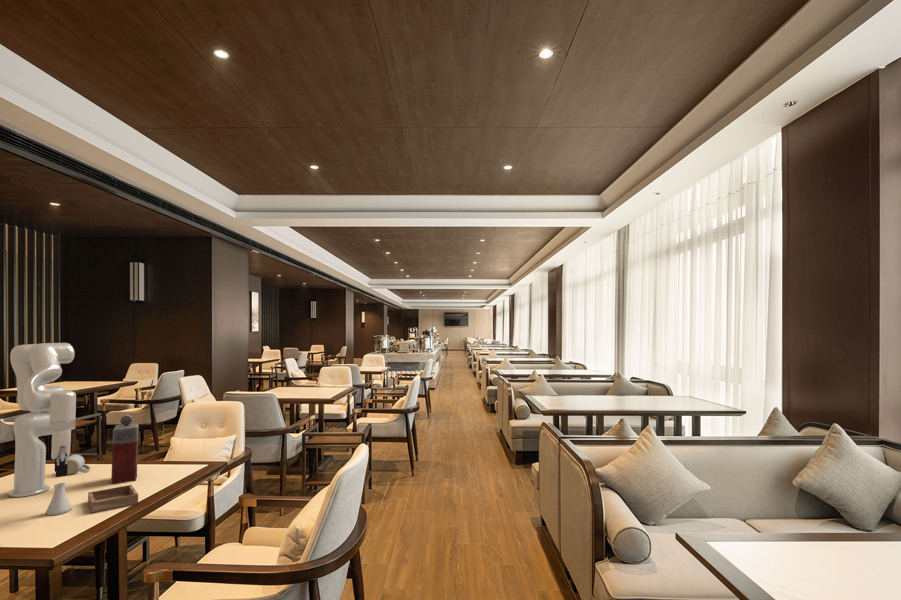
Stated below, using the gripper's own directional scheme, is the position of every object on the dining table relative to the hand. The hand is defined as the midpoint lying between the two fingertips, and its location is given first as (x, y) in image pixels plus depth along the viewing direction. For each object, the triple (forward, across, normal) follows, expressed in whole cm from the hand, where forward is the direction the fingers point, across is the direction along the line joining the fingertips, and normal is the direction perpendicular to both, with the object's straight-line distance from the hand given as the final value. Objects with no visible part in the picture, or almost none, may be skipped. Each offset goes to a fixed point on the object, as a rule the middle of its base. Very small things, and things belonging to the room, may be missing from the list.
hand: (60, 473), depth 178 cm
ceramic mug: (+13, -60, +8) cm, 62 cm away
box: (+14, +1, +16) cm, 21 cm away
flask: (+14, -1, 0) cm, 14 cm away
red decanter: (+13, -32, +24) cm, 42 cm away
